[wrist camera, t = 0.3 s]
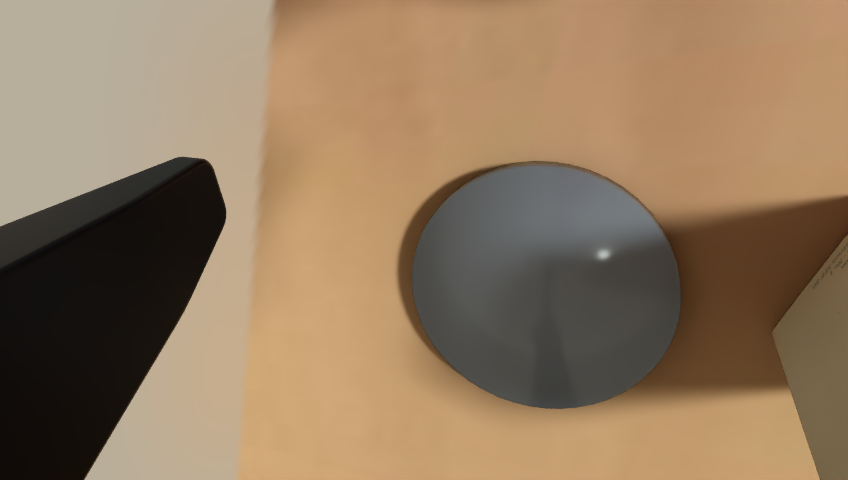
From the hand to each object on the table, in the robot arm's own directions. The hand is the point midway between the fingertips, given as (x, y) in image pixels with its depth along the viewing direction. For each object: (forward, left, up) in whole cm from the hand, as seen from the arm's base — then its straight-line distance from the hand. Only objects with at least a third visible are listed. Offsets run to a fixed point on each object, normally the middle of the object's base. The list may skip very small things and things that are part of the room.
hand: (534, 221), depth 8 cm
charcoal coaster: (-8, -4, -16) cm, 18 cm away
